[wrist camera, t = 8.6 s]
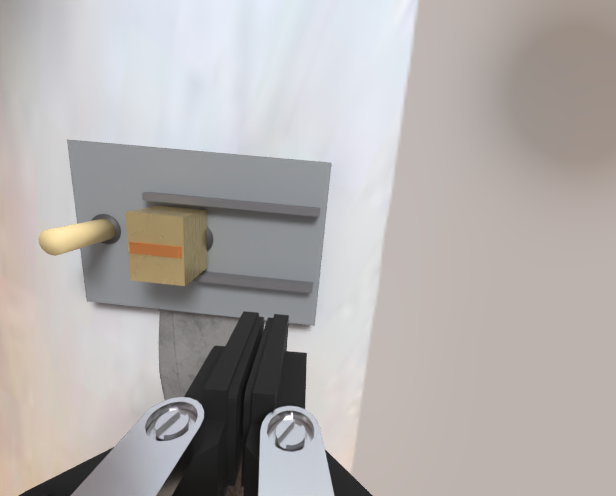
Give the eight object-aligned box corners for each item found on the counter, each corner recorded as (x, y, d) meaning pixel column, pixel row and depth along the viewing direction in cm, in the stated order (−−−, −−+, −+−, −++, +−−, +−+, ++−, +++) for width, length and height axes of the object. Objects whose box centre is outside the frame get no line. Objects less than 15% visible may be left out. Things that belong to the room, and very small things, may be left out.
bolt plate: (315, 317, 27) (312, 361, 21) (99, 294, 28) (32, 330, 21) (330, 163, 23) (333, 159, 17) (82, 141, 24) (-4, 129, 18)
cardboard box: (207, 268, 24) (184, 286, 20) (161, 263, 24) (129, 281, 20) (206, 210, 23) (182, 217, 19) (158, 205, 23) (124, 211, 19)
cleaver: (270, 520, 34) (266, 542, 32) (191, 518, 35) (183, 539, 33) (244, 292, 27) (238, 301, 25) (147, 295, 28) (133, 304, 26)
